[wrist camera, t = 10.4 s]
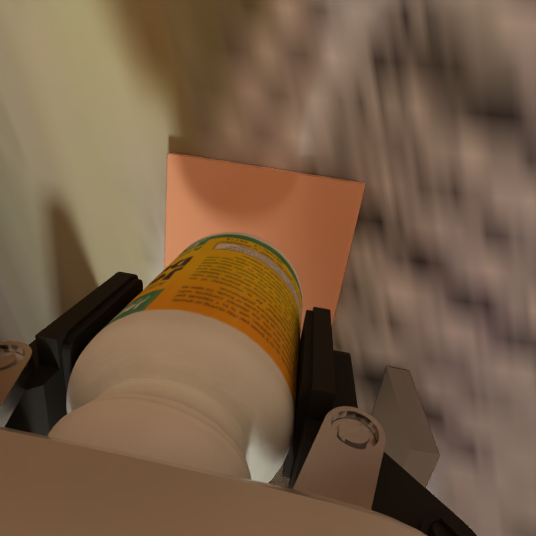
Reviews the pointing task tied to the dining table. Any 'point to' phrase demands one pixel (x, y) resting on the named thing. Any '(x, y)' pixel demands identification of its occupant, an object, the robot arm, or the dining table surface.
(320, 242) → the tile
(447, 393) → the dining table surface
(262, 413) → the supplement bottle
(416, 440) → the open box
